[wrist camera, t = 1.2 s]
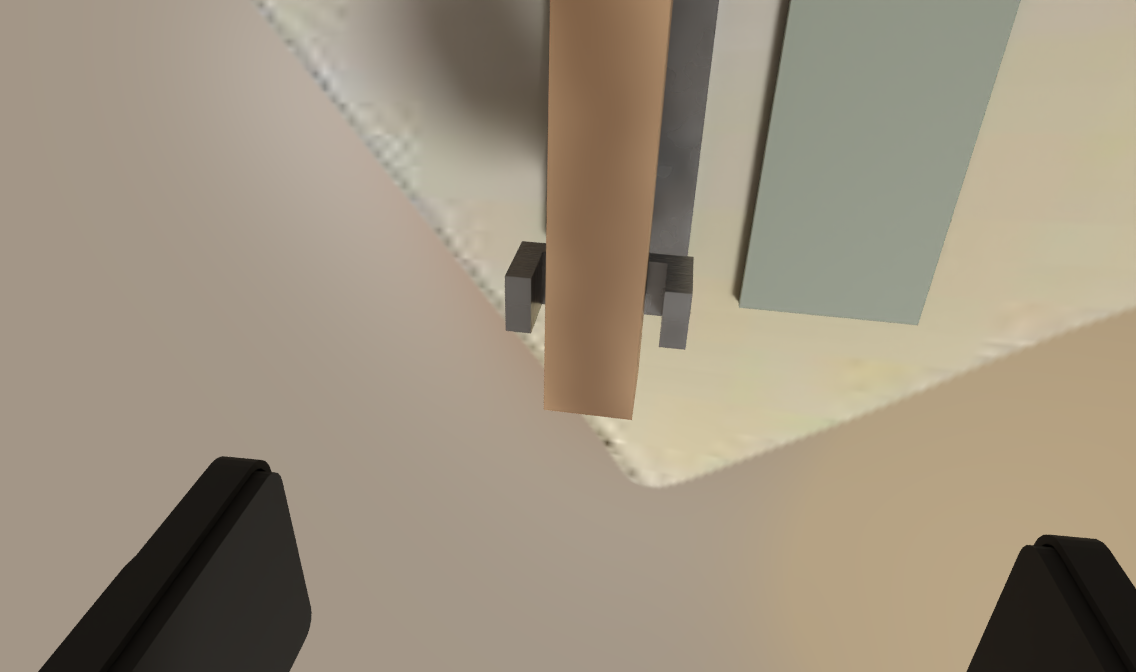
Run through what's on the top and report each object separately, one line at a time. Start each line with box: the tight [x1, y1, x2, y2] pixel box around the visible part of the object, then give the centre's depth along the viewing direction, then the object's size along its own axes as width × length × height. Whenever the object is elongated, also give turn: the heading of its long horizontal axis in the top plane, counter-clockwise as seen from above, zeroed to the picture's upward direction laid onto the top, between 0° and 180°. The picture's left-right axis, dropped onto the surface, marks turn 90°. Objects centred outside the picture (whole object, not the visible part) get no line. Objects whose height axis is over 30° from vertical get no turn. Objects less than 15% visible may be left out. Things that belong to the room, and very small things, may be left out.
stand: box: [505, 0, 719, 350], centre depth 30 cm, size 7×19×11 cm, turn 178°
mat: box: [739, 0, 1021, 325], centre depth 33 cm, size 9×24×1 cm, turn 178°
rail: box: [544, 0, 673, 420], centre depth 25 cm, size 4×22×4 cm, turn 178°
